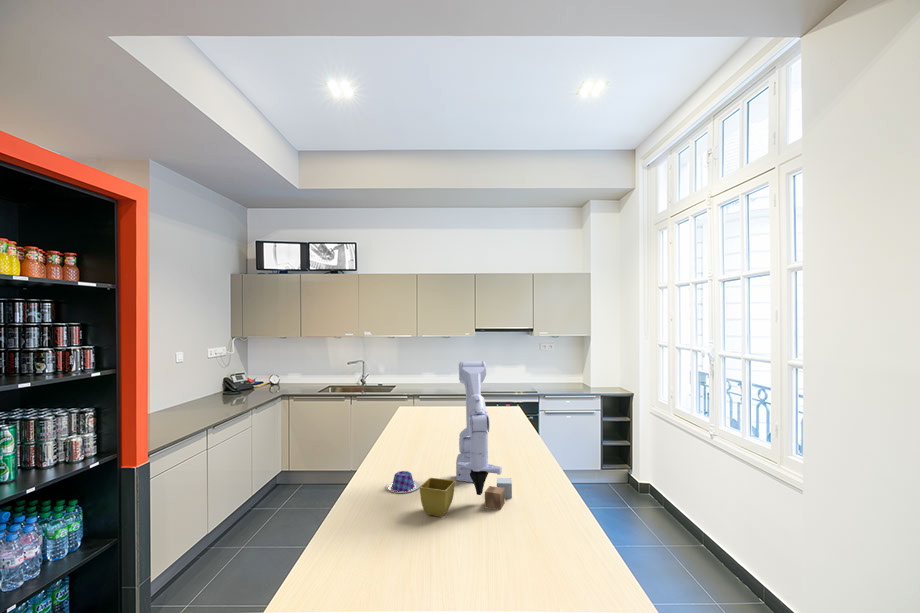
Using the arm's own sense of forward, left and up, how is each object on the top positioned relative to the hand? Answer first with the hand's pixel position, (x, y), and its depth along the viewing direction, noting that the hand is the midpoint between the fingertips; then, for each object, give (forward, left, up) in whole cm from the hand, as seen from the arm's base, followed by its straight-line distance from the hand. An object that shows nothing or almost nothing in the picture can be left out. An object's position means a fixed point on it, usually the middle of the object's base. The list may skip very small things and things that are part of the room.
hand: (479, 493), depth 145 cm
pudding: (-30, +4, -4) cm, 30 cm away
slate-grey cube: (+6, +9, -3) cm, 11 cm away
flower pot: (-10, -11, -3) cm, 15 cm away
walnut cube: (+2, 0, -1) cm, 3 cm away
